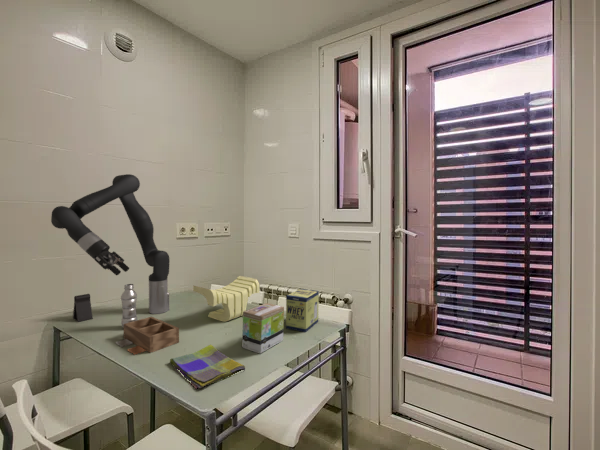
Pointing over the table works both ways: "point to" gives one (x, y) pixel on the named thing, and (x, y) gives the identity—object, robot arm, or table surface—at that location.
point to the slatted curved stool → (230, 297)
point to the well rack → (149, 335)
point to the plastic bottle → (128, 304)
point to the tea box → (262, 327)
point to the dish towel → (206, 366)
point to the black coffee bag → (82, 308)
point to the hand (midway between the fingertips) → (123, 272)
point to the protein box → (302, 309)
